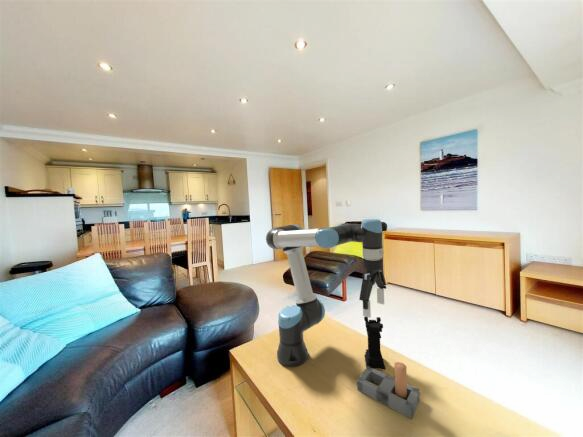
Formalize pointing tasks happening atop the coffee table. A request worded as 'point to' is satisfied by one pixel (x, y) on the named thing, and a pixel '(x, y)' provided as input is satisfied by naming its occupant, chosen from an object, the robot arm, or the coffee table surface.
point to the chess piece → (374, 344)
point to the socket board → (388, 391)
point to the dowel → (400, 380)
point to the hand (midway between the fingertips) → (374, 309)
